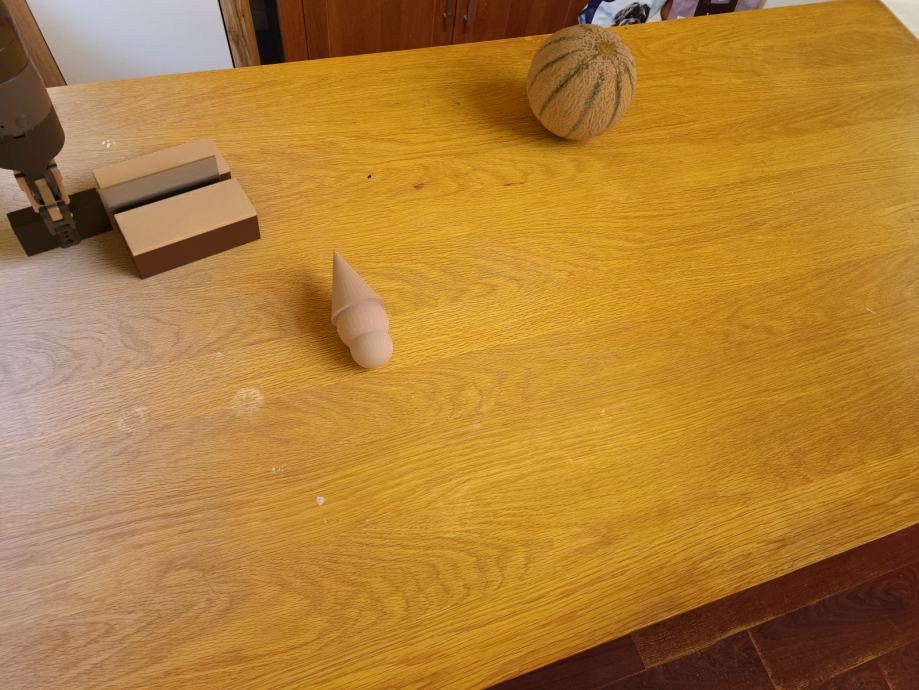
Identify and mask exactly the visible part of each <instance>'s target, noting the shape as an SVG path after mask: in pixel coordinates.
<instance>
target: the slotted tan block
mask: <svg viewBox="0 0 919 690" xmlns="http://www.w3.org/2000/svg"><path fill="white" fill-rule="evenodd" d="M212 155H215V157H216V161H217V165H218V170H219V175H220V180H221V182H219V183H216V184H212V185H209V186H206V187H203V188H200V189H196V190H193V191H190V192H187V193H183V194H180V195H177V196H174V197H171V198H167V199H164V200H161V201H158V202H154V203H151V204H148V205H145V206H141V207H138V208H135V209H132V210H129V211H125V212H122V213H119V214H116V215H114V217H115V220H116V223H114V225H115V227H116V228H117V231H118V232H119V234H120V236H121V238H122V240H123V243H124V245H125V247H126V249H127V251H128V253H129V255H130V257H131V259H132V262H133V263H134V265H135V268H136V269H137V272H138V274H139V276H140V278H141V280H147V279H149V278H151V277H154V276H157V275H160V274H163V273H166V272H169V271H172V270H176V269H177V268H180V267H184V266H187V265H189V264H192V263H194V262H197V261H201V260H203V259H206V258H209V257H212V256H215V255H218V254H220V253H224V252H227V251H229V250H232V249H235V248H238V247H240V246H245V245H246V244H249V243H252V242H256V241H258V240H261V231H260V224H259V218H258V212H257V210H256V208H255V207H254V205H253V203H252V202H251V200H250V199H249V196H247V194H246V191H244V189H243V187H242V186H241V184H240V183H239V181H238V179H237V178H236V177H232V174H231V173H232V172H231V168H230V166H229V165H228V163H227V161H226V160H225V158H224V157H223V155H222V153H221V152H220V150H219V148H218V147H217V145H216V144H215V142H214V140H213V139H212V137H211V136H206V137H203V138H200V139H196V140H193V141H189V142H185V143H182V144H179V145H174V146H172V147H168V148H165V149H161V150H158V151H153V152H151V153H146V154H143V155H139V156H137V157H136V156H135V157H133V158H130V159H127V160H122V161H119V162H115V163H112V164H111V163H110V164H109V165H105V166H101V167H98V168H94V169H92V170H91V172H92V175H93V177H94V180H95V183H96V185H97V188H98V189H101V188H104V187H108V186H111V185H115V184H118V183H121V182H125V181H128V180H131V179H135V178H138V177H141V176H145V175H148V174H152V173H155V172H158V171H162V170H165V169H168V168H172V167H175V166H179V165H182V164H185V163H189V162H192V161H195V160H199V159H202V158H205V157H209V156H212Z"/></svg>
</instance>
